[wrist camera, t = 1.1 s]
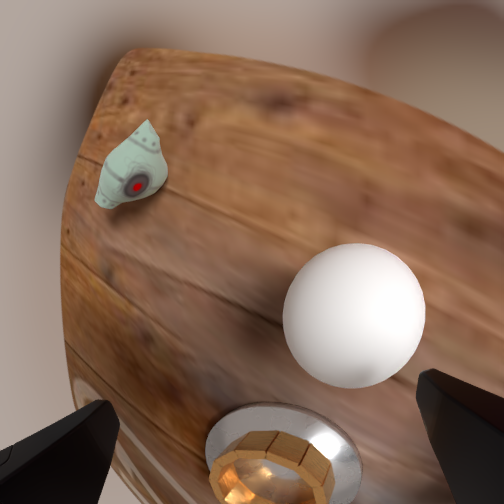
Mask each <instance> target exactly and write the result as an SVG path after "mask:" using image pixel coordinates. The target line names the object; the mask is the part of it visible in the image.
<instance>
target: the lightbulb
mask: <svg viewBox="0 0 504 504" xmlns="http://www.w3.org/2000/svg"><path fill="white" fill-rule="evenodd" d="M424 323H425V302H424V297H423V293H422V290H421V288H420V285H419V283H418V281H417V278H416V277H415V276H414V274H413V273H412V271H411V270H410V269H409V267H408V266H407V265H406V264H405V263H404V262H403V261H401V260H400V259H399V258H398V257H397V256H395V255H394V254H392V253H390V252H389V251H387V250H385V249H382V248H379V247H376V246H373V245H368V244H360V243H354V244H343V245H339V246H336V247H332V248H329V249H327V250H325V251H323V252H321V253H319V254H317V255H316V256H315V257H313V258H312V259H311V260H310V261H308V262H307V263H306V264H305V265H304V266H303V267H302V269H301V270H300V271H299V272H298V273H297V275H296V276H295V278H294V280H293V282H292V284H291V285H290V287H289V289H288V292H287V295H286V298H285V301H284V308H283V329H284V334H285V337H286V341H287V345H288V347H289V349H290V351H291V353H292V355H293V357H294V358H295V359H296V361H297V362H298V363H299V365H300V366H301V367H302V368H303V369H304V370H305V371H307V372H308V373H309V374H310V375H311V376H313V377H315V378H316V379H318V380H319V381H321V382H324V383H326V384H329V385H332V386H336V387H341V388H362V387H367V386H372V385H374V384H377V383H379V382H382V381H384V380H386V379H387V378H389V377H390V376H392V375H393V374H395V373H396V372H398V371H399V370H400V369H401V368H402V367H403V366H404V365H405V364H406V363H407V362H408V361H409V359H410V358H411V356H412V355H413V353H414V352H415V351H416V348H417V346H418V344H419V342H420V339H421V337H422V333H423V328H424Z"/></svg>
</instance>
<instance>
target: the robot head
mask: <svg viewBox="0 0 504 504" xmlns="http://www.w3.org/2000/svg"><path fill="white" fill-rule="evenodd" d="M159 139H160V138H159V137H158V135H157V134H156V132H155V130H154V129H153V127H152V126H151V124H150V122H149V121H148V119H147V120H146V121H145V122H144V123H143V124H142V125H141V126H140V127H139V128H138V129H137V130H136V131H135V132H134V133H133V134H132V135H131V136H130V137H128V138H127V139H126V140H125V141H124V142H123V143H121V144H120V145H119V146H118V147H117V148H115V149H114V150H113V151H112V152H111V153H110V154H109V155H108V156H107V158H106V160H105V162H104V165H103V168H102V171H101V175H100V180H99V186H98V189H97V193H96V196H95V202H96V203H97V204H98V205H99V206H100V207H103V208H107V209H113V208H114V207H116V206H118V205H119V204H121V203H122V202H129V201H134V200H138V199H142V198H145V197H147V196H149V195H152V194H154V193H155V192H156V191H157V190H158V189H159V188H160V187H161V186H162V185H163V184H164V182H165V180H166V178H167V176H168V168H167V164H166V162H165V160H164V158H163V156H162V152H161V148H160V143H159Z"/></svg>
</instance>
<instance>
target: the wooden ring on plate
mask: <svg viewBox="0 0 504 504" xmlns="http://www.w3.org/2000/svg"><path fill="white" fill-rule="evenodd" d="M205 455H206V461H207V464H208V467H209V470H210V475H209V482H210V484H211V486H212V489H213V491H214V493H215V495H216V498H217V499H218V501H219V502H221V503H222V504H350V503H351V501H352V500H353V499H354V497H355V496H356V494H357V492H358V489H359V487H360V483H361V478H362V472H363V471H362V461H361V456H360V454H359V451H358V449H357V447H356V446H355V444H354V442H353V441H352V439H351V438H350V437H349V436H348V435H347V434H346V432H344V431H343V430H342V429H341V428H340V427H339V426H338V425H336V424H335V423H333V422H332V421H331V420H329V419H328V418H326V417H324V416H322V415H320V414H318V413H316V412H314V411H311V410H309V409H306V408H303V407H300V406H297V405H292V404H287V403H279V402H260V403H252V404H248V405H244V406H241V407H239V408H236V409H234V410H233V411H231V412H229V413H228V414H227V415H225V416H224V417H223V418H222V419H221V420H220V421H219V422H217V423H216V425H215V426H214V427H213V428H212V430H211V431H210V433H209V435H208V438H207V441H206V447H205Z"/></svg>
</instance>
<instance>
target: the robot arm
mask: <svg viewBox="0 0 504 504" xmlns="http://www.w3.org/2000/svg"><path fill="white" fill-rule="evenodd" d="M416 401H417V404H418V407H419V410H420V413H421V416H422V419H423V422H424V425H425V428H426V431H427V434H428V437H429V440H430V443H431V445H432V448H433V450H434V452H435V454H436V457H437V459H438V461H439V463H440V466H441V468H442V470H443V473H444V475H445V477H446V480H447V482H448V484H449V487H450V489H451V492H452V494H453V497H454V499H455V501H456V504H504V398H502V397H500V396H497V395H495V394H493V393H490V392H488V391H485V390H483V389H481V388H478V387H476V386H474V385H471V384H469V383H466V382H464V381H462V380H459V379H457V378H455V377H452V376H450V375H448V374H446V373H443V372H441V371H439V370H436V369H434V368H432V369H428V370H424V371H422V372H420V374H419V378H418V384H417V391H416ZM119 428H120V422H119V419H118V417H117V415H116V412H115V410H114V408H113V406H112V404H111V403H110V402H109V401H108V400H100V399H98V400H95V401H93V402H91V403H90V404H88V405H86V406H84V407H83V408H81V409H79V410H77V411H75V412H74V413H72V414H70V415H68V416H66V417H64V418H63V419H61V420H59V421H57V422H55V423H53V424H52V425H50V426H48V427H46V428H44V429H42V430H40V431H38V432H36V433H34V434H33V435H31V436H29V437H27V438H25V439H23V440H21V441H19V442H17V443H15V444H14V445H11V446H9V447H7V448H5V449H3V450H1V451H0V504H98V500H99V498H100V495H101V492H102V489H103V486H104V483H105V480H106V477H107V474H108V471H109V468H110V465H111V461H112V457H113V453H114V449H115V444H116V440H117V436H118V432H119Z"/></svg>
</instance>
